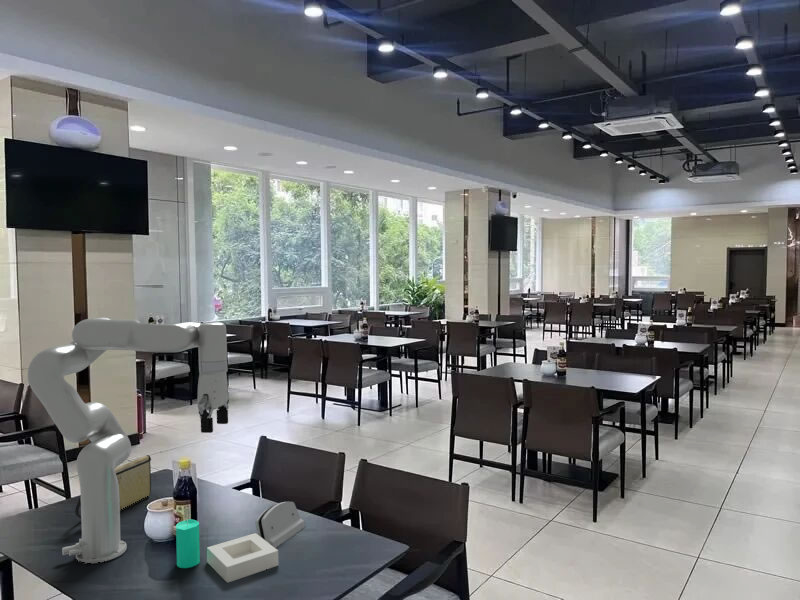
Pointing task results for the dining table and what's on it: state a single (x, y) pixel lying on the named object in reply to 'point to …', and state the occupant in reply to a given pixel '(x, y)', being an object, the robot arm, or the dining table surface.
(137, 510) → the dining table surface
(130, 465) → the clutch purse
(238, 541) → the candle holder
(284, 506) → the hinge
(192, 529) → the candle
